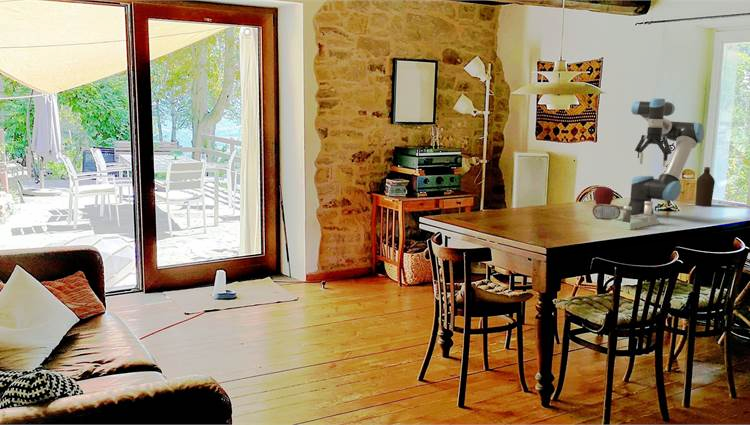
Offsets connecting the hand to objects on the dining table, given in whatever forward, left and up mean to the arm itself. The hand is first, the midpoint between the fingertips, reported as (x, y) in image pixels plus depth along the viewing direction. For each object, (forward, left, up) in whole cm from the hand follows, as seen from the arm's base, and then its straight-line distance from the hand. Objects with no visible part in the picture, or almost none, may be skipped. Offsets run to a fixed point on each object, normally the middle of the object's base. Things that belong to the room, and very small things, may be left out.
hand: (651, 165), depth 377 cm
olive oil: (-12, +89, -32) cm, 95 cm away
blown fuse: (+2, -24, -31) cm, 39 cm away
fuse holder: (+2, -8, -32) cm, 33 cm away
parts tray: (+2, -24, -32) cm, 40 cm away
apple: (-44, +24, -32) cm, 59 cm away
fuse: (+2, -3, -30) cm, 30 cm away
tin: (-18, -12, -32) cm, 39 cm away
